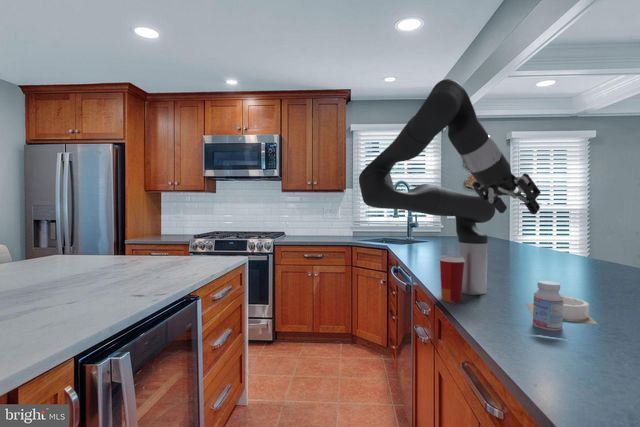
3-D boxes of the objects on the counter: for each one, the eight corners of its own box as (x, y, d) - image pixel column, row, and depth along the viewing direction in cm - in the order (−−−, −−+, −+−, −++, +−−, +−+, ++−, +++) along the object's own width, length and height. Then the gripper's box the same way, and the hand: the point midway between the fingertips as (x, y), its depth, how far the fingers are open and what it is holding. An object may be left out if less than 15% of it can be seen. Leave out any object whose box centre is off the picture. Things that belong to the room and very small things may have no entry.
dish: (543, 316, 93) (543, 303, 93) (535, 305, 103) (536, 293, 103) (593, 322, 89) (594, 308, 89) (580, 310, 99) (581, 297, 99)
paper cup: (464, 299, 111) (465, 255, 111) (463, 305, 104) (464, 258, 104) (439, 296, 114) (439, 253, 114) (436, 301, 107) (437, 256, 107)
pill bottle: (527, 323, 88) (528, 279, 88) (549, 323, 89) (551, 279, 88) (544, 332, 82) (545, 285, 82) (568, 332, 83) (570, 285, 82)
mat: (533, 318, 93) (533, 316, 93) (525, 304, 106) (525, 302, 105) (597, 326, 87) (597, 324, 87) (581, 310, 100) (581, 308, 100)
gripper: (451, 173, 84) (486, 221, 89) (501, 168, 71) (539, 224, 75) (469, 153, 86) (502, 200, 90) (521, 144, 73) (557, 200, 77)
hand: (519, 211), depth 83 cm, fingers open, 8 cm apart
